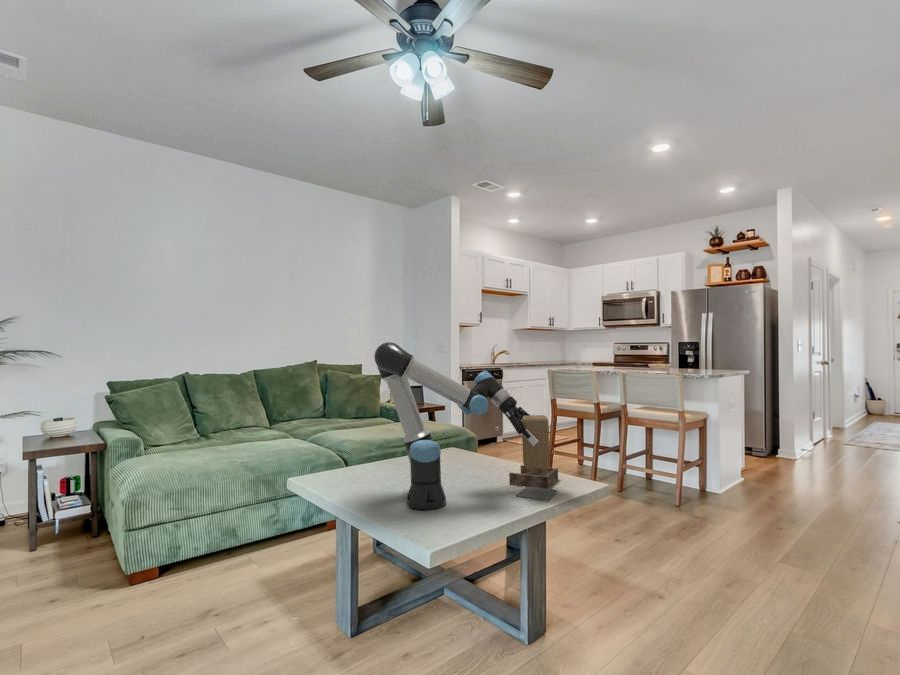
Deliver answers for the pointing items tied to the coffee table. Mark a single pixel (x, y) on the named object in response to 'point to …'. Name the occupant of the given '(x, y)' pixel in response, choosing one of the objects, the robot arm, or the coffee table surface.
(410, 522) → the coffee table surface
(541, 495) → the pad
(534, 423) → the wooden block
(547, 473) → the wooden u-shaped frame
